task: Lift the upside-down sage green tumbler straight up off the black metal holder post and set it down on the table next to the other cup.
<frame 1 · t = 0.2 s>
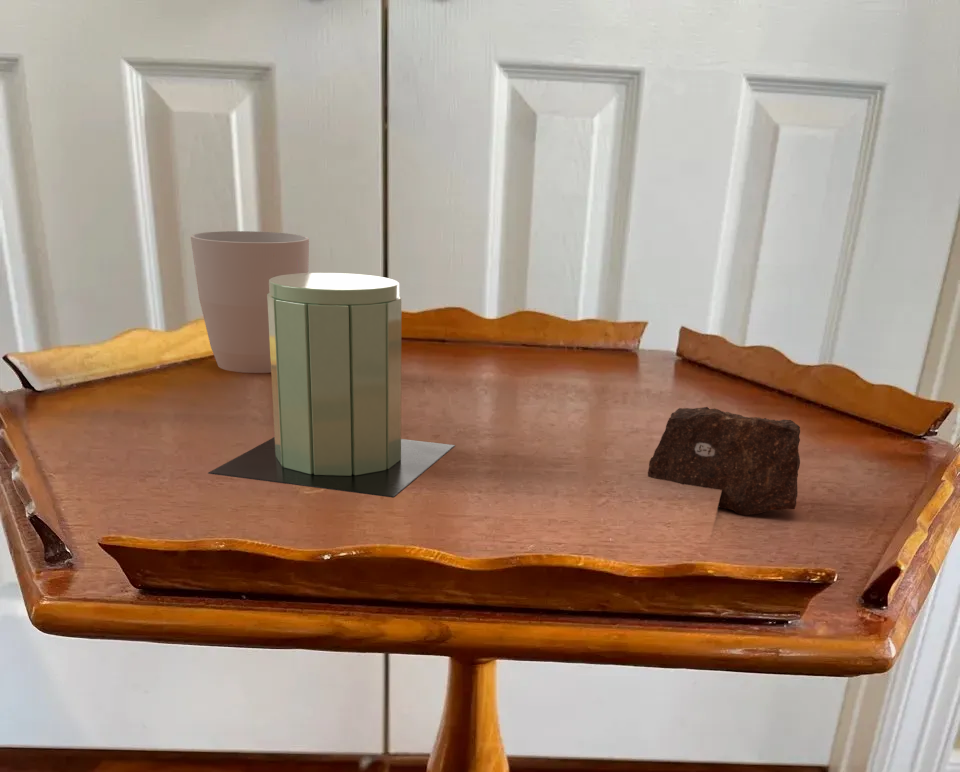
stone: (720, 506, 54), on the table
cup: (258, 383, 76), on the table
holder: (339, 479, 55), on the table
tumbler: (338, 457, 55), point 1 cm above the table, touching holder
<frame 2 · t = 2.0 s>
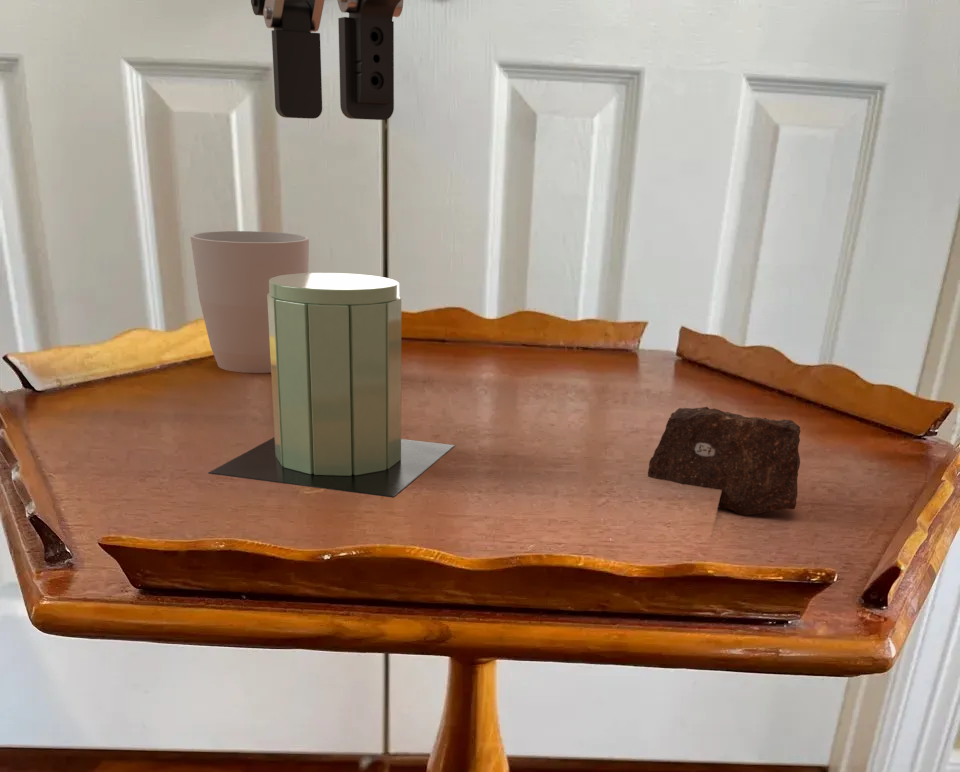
hand: (331, 118, 48), 17 cm above the table, tool pointing down, fingers open, 8 cm apart
nothing on the table moved.
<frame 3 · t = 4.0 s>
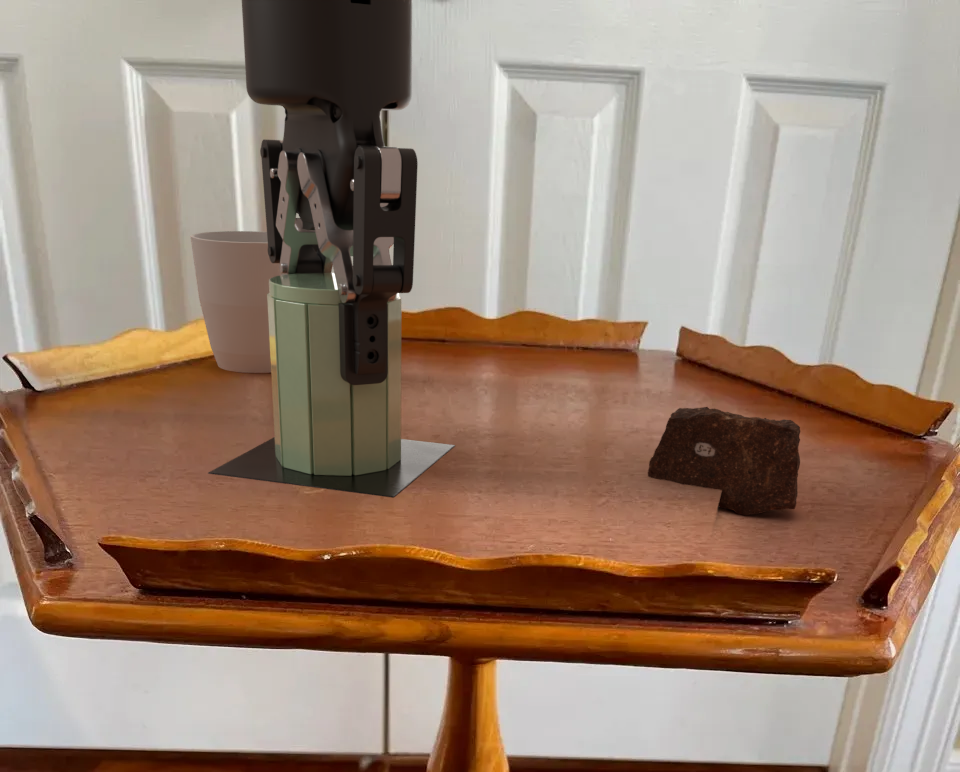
hand: (336, 367, 53), 6 cm above the table, tool pointing down, fingers closed on tumbler, 6 cm apart
tumbler: (338, 457, 55), point 1 cm above the table, touching gripper, holder
everything else where it was.
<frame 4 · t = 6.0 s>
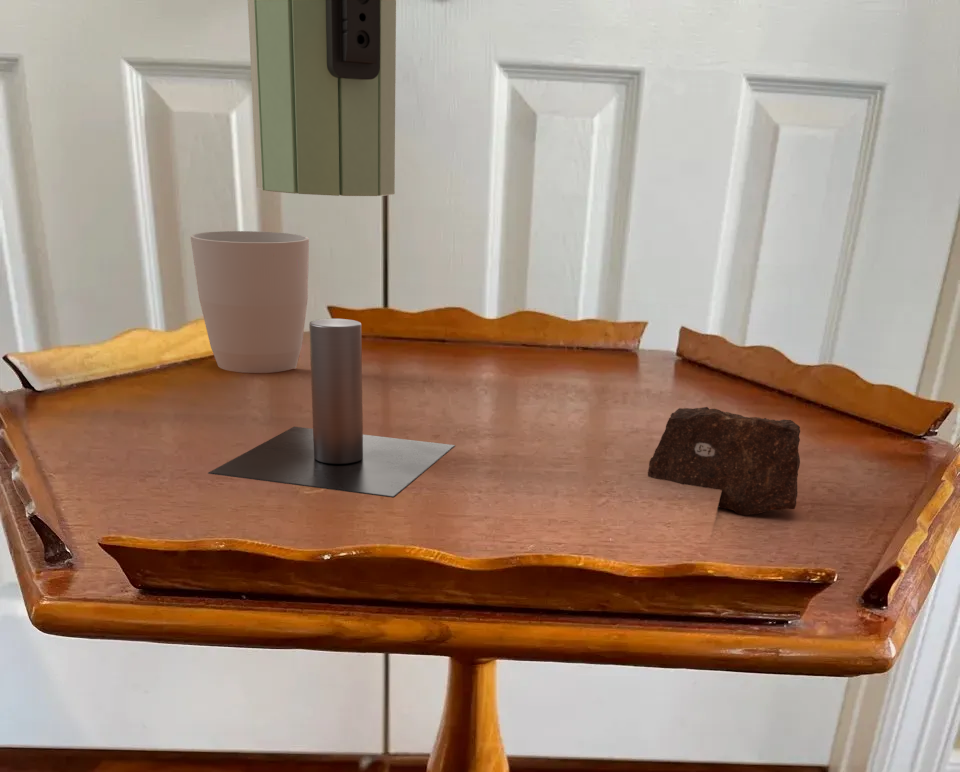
hand: (323, 78, 48), 19 cm above the table, tool pointing down, fingers closed on tumbler, 6 cm apart
tumbler: (326, 191, 50), point 14 cm above the table, touching gripper
everything else where it was.
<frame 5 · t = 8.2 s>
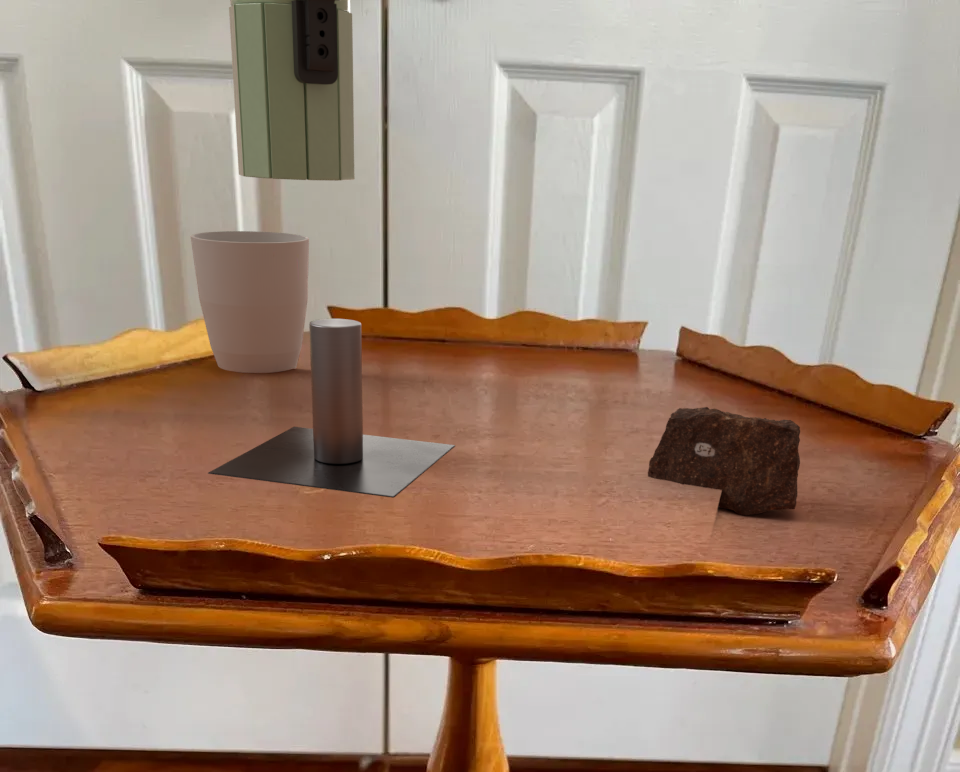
hand: (293, 83, 57), 19 cm above the table, tool pointing down, fingers closed on tumbler, 6 cm apart
tumbler: (297, 177, 59), point 14 cm above the table, touching gripper
everything else where it was.
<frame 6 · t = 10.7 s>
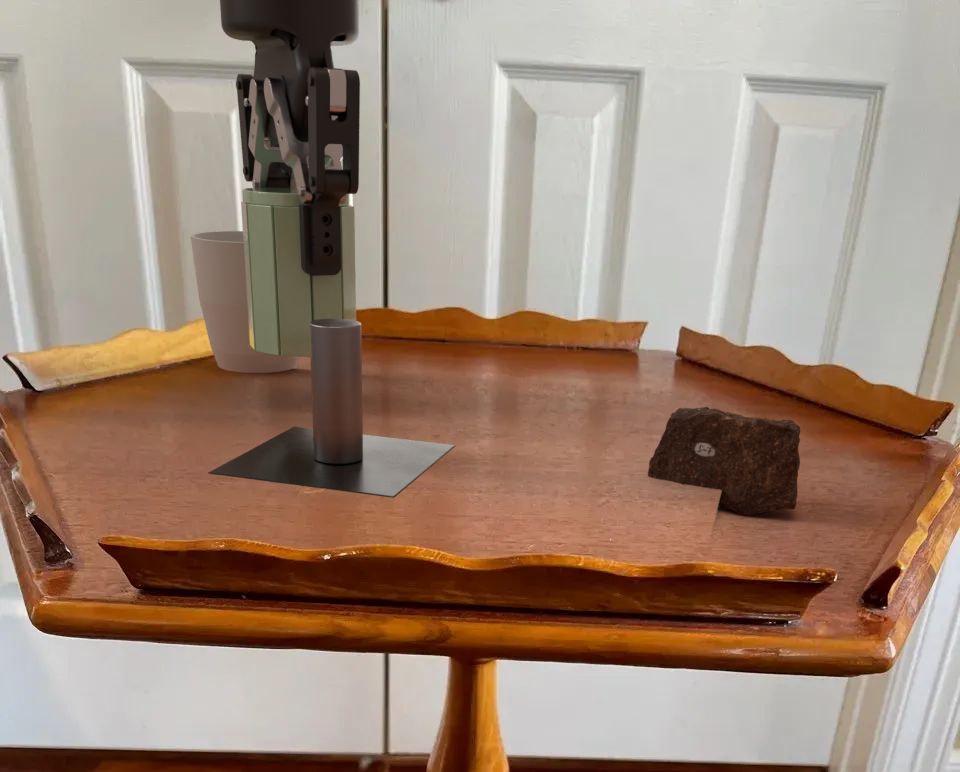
hand: (300, 266, 62), 9 cm above the table, tool pointing down, fingers closed on tumbler, 6 cm apart
tumbler: (303, 346, 64), point 5 cm above the table, touching gripper
everything else where it was.
when the fingers open (5 cm above the table, at t = 12.6 s): tumbler stays where it is, on the table.
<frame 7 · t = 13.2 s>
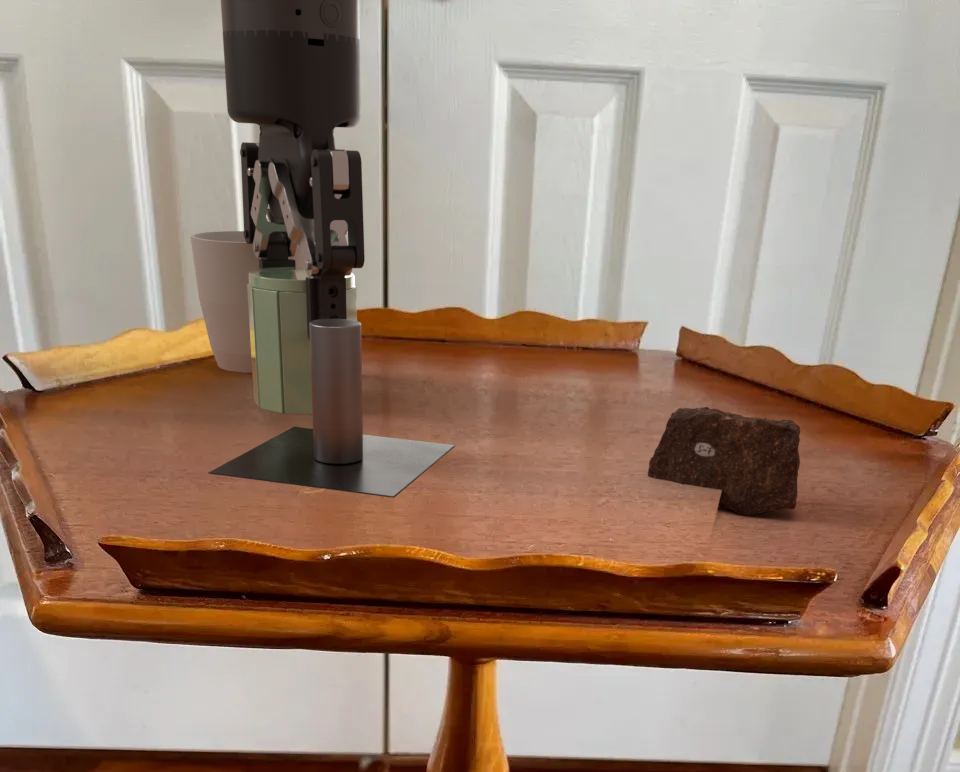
hand: (302, 330, 64), 6 cm above the table, tool pointing down, fingers open, 8 cm apart
tumbler: (307, 419, 66), on the table
everything else where it was.
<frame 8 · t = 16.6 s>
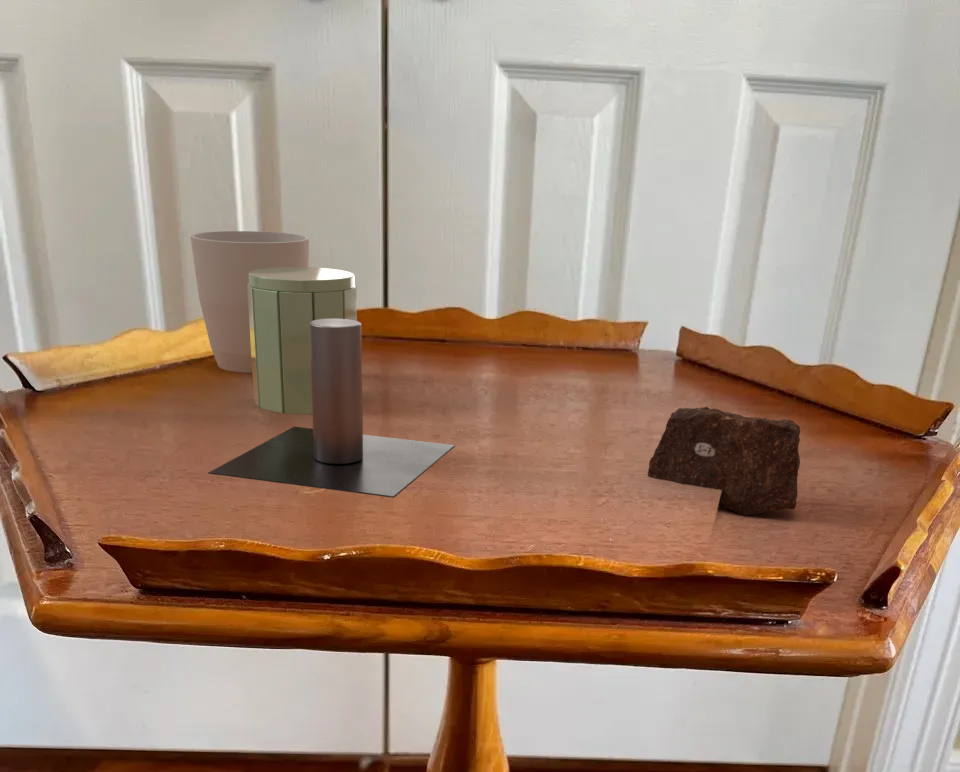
nothing on the table moved.
at the end: tumbler 12.1 cm from the cup (horizontally); tumbler on the table; tumbler tilted 0° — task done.
